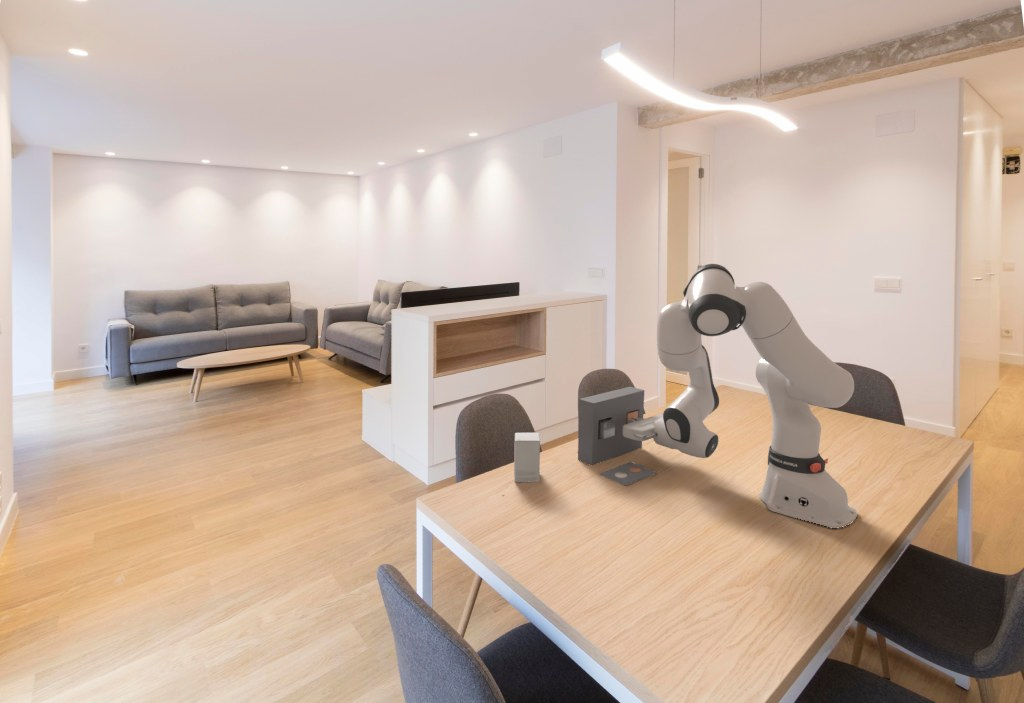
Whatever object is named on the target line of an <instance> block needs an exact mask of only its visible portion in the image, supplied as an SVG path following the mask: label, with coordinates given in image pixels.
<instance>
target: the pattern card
mask: <svg viewBox="0 0 1024 703" xmlns="http://www.w3.org/2000/svg"><path fill="white" fill-rule="evenodd" d="M657 473H658V472H657V471H655V470H653V469H649V468H647V467H645V466H642V465H639V464H637V463H634V462H632V461H629V462H626V463H624V464H620V465H617V466H616V467H612V468H610V469H607V470H604V471H601V472H599V474H600V475H599V476H601V477H604V478H607V479H609V480H612V481H613V482H615V483H618V484H620V485H621V486H625V487H627V486H629V485H632V484H634V483H636V482H640V481H641V480H644V479H646V478H649V477H651V476H653V475H656V474H657Z"/></svg>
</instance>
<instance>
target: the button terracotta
mask: <svg viewBox="0 0 1024 703" xmlns="http://www.w3.org/2000/svg"><path fill="white" fill-rule="evenodd" d="M634 417H635V418H638V411H636V410H634V411H631V412H627V416H626V424H628V419H630V418H634Z"/></svg>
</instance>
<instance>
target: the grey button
mask: <svg viewBox="0 0 1024 703" xmlns="http://www.w3.org/2000/svg"><path fill="white" fill-rule="evenodd" d="M611 436H615V420H613V419H610V418H606V419H603V420H599V425H598V437H599V438H602V439H605V438H608V437H611Z"/></svg>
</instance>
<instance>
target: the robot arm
mask: <svg viewBox="0 0 1024 703" xmlns="http://www.w3.org/2000/svg"><path fill="white" fill-rule="evenodd" d="M735 284H736V283H735V279H734V277H733V275H732V272H730V271H729V269H727V268H726V267H725V266H723V265H721V264H718V263H709V264H704V265H703V266H700V267H699V268H698V269H697V270H695V272H694V274H693V275H692V276H691V278H690V280H689V281H688V283H687V285H686V287H685V288H684V289H683V293H682V294H683V296H684V298H683V299H682V300H681V301H674V302H671V303H668V304H666V305H664V306H663V307H662V308H661V310H660V311H659V313H658V318H657V325H656V343H657V344H656V346H657V355H658V358H659V360H660V362H661V364H662V365H663V366H664V367H665V368H667V369H668V370H671V371H672V372H675V373H688V377H689V384H688V385H687V387H686V388H685V389H684V391H683V392H681V394H680V395H678V396H677V397H676V399H674V400H673V401H672V402H671V403H670V404H669V405H668V406H667V407H666V409H664V411H663V413H658V414H656V415H652V416H649V417H645V418H644V417H643V418H635V417H634V418H630V419H628V424H625V425H623V436H624V437H626V438H629V439H633V440H637V441H642V442H645V441H649V440H651V439H653V441H654V443H655V444H657V445H659V446H662V447H665V448H668V449H669V450H677V451H679V452H681V453H682V454H685V455H688V456H691V457H695V458H700V459H707V458H710V456H712V455H713V453H715V451H716V450H717V447H718V445H719V436H718V434H717V433H715V432H714V431H711V430H709V428H707V426H706V425H705V423H704V421H705V420H706V419H707V417H709V416H710V415H711V414H712V413H713V412H714V411H715V410H716V409H718V408H719V406H720V398H719V397H720V396H719V394H718V391H717V389H716V387H715V384H714V380H713V374H712V369H711V368H712V367H711V364H710V363H711V362H710V358H709V354H708V351H707V349H706V348H705V346H704V345H703V343H702V340H703V339H702V336H705V337H717V336H722V335H725V334H727V333H729V332H731V331H736V330H738V329H739V328H741V327H742V328H743V330H744V332H745V333H746V335H747V336H748V338H749V340H750V341H751V343H752V344H753V346H754V348H755V350H756V351H757V353H758V354H759V356H760V357H761V358H760V359H759V361H758V362H757V364H756V366H755V378H756V381H757V383H758V384H759V385H760V386H761V387H762V389H763V391H764V392H765V395H766V397H767V400H768V403H769V407H770V410H771V416H772V429H771V431H772V432H771V442H770V443H771V444H770V446H769V448H768V454H767V466H768V467H767V472H766V477H765V480H764V483H763V486H762V488H761V491H760V492H759V498H760V500H761V501H763V503H765V504H766V507H767V509H768V510H769V511H770V512H774V513H777V514H780V515H784V516H787V517H791V518H794V519H797V518H798V519H797V520H800V519H801V520H802V521H804V520H805V521H804V522H807V521H809V522H808V523H811V522H813V523H812V524H814V523H816V524H815V525H817V524H820V525H819V526H821V525H824V526H827V527H826V528H828V527H832V528H837V527H842V526H845V525H848V524H850V523H851V522H852V521H854V520H855V519H856V517H857V518H858V512H857V510H856V508H854V507H852V506H850V505H849V500H848V493H847V491H846V489H845V488H844V487H843V486H842V484H840V483H839V482H838V481H837V480H836V479H835V478H833V476H832V475H830V473H829V472H828V471H826V470H825V469H826V464H828V463H829V458H825V459H824V458H823V457H822V456H821V454H820V453H819V451H820V450H819V449H820V443H821V434H822V426H821V423H820V420H819V419H818V418H817V417H816V416H815V414H814V413H813V411H812V410H811V408H810V405H812V406H815V407H822V408H831V409H832V408H833V409H837V408H841V407H842V406H844V405H845V404H847V403H848V402H849V400H851V398H852V396H853V394H854V392H855V380H854V378H853V375H852V373H851V372H849V371H848V370H846V369H845V368H843V367H842V366H840V365H839V364H837V363H836V362H834V361H833V360H832V359H831V358H829V356H827V355H826V354H825V353H824V352H823V351H822V350H821V349H820V348H819V347H818V346H816V345H815V343H814V342H812V340H811V339H809V337H808V336H807V335H806V334H805V332H804V330H803V329H802V327H801V326H800V324H799V322H798V321H797V319H796V318H795V316H794V314H793V312H792V310H791V309H790V307H789V305H788V304H787V302H786V301H785V300H784V298H783V297H782V296H781V295H780V294H779V292H777V290H776V289H775V288H774V287H773V286H772V285H771V284H769V283H768V282H767V283H766V282H763V281H756V282H752V283H749V284H747V285H745V286H736V285H735ZM809 404H810V405H809ZM801 520H800V521H801ZM856 520H857V519H856ZM856 520H855V521H856ZM855 521H854V522H855ZM850 525H851V524H850ZM824 526H823V527H824ZM832 528H831V529H832ZM837 529H838V528H837Z"/></svg>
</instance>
